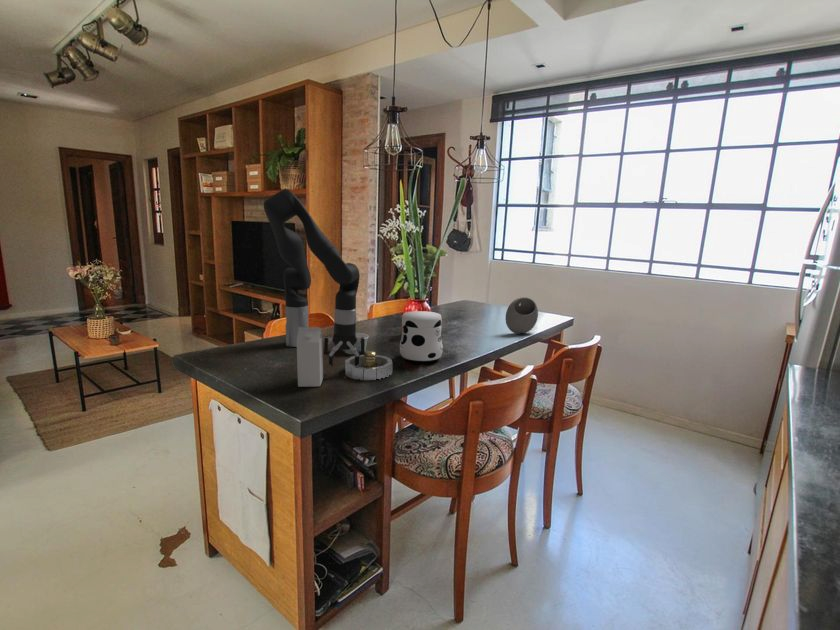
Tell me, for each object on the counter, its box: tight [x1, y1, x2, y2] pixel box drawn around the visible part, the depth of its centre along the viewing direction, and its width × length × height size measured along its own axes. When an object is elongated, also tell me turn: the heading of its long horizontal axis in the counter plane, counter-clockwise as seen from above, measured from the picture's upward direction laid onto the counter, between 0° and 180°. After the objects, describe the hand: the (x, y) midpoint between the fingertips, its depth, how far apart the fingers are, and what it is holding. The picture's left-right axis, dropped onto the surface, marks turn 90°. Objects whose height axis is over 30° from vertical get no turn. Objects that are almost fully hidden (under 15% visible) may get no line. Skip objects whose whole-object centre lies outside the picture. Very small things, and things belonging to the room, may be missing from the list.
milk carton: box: [296, 326, 324, 388], centre depth 140 cm, size 7×7×19 cm
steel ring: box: [344, 354, 393, 381], centre depth 154 cm, size 17×17×4 cm
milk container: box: [399, 310, 444, 363], centre depth 169 cm, size 17×17×18 cm
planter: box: [505, 296, 539, 335], centre depth 214 cm, size 18×7×19 cm, turn 110°
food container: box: [342, 332, 370, 355], centre depth 179 cm, size 12×12×6 cm
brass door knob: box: [362, 350, 377, 368], centre depth 153 cm, size 9×9×7 cm
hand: (344, 365), depth 152 cm, fingers open, 8 cm apart
